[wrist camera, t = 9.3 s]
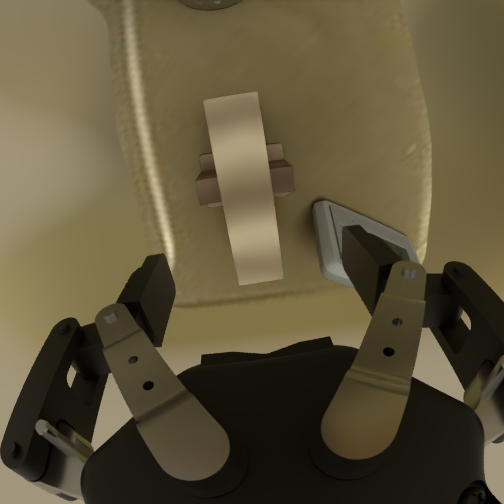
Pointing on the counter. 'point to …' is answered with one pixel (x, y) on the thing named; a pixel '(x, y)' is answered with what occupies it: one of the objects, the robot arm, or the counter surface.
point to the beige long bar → (245, 185)
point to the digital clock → (330, 238)
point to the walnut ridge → (278, 172)
